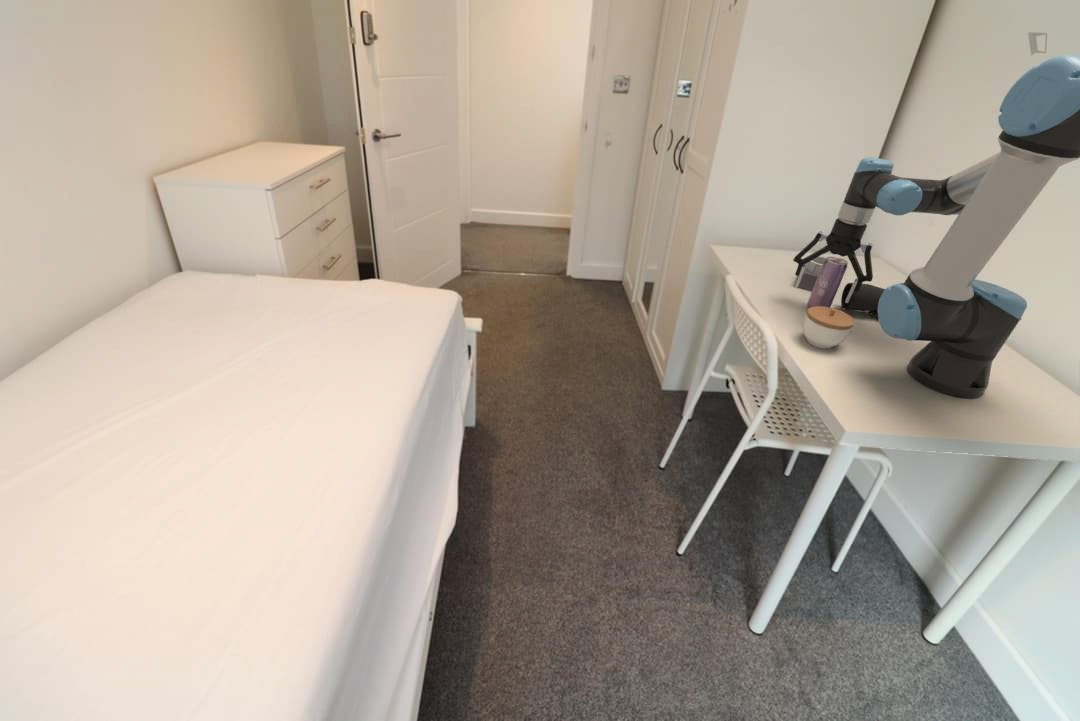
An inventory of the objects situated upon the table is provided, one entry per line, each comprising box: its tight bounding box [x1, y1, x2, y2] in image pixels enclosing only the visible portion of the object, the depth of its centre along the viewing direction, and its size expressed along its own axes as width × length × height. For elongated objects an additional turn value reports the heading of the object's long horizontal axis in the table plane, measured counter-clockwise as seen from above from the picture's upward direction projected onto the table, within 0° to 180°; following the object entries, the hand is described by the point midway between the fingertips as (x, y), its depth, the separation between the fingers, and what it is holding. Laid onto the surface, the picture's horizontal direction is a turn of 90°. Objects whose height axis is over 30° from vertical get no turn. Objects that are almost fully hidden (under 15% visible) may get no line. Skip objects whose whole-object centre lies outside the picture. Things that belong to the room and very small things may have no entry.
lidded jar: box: [802, 306, 855, 349], centre depth 127 cm, size 11×11×9 cm
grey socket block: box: [793, 255, 827, 292], centre depth 161 cm, size 14×10×8 cm
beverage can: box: [806, 256, 849, 309], centre depth 143 cm, size 6×6×15 cm
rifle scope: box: [840, 282, 904, 319], centre depth 143 cm, size 10×26×10 cm, turn 78°
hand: (821, 293), depth 145 cm, fingers open, 13 cm apart
